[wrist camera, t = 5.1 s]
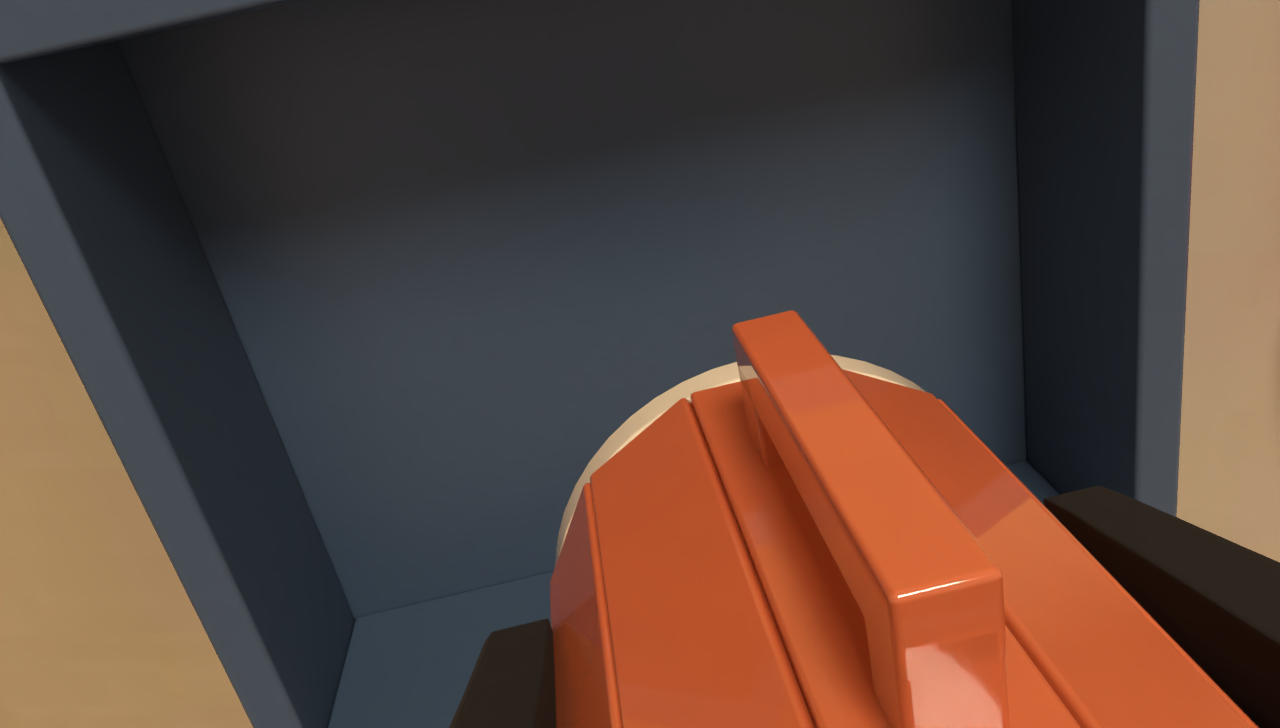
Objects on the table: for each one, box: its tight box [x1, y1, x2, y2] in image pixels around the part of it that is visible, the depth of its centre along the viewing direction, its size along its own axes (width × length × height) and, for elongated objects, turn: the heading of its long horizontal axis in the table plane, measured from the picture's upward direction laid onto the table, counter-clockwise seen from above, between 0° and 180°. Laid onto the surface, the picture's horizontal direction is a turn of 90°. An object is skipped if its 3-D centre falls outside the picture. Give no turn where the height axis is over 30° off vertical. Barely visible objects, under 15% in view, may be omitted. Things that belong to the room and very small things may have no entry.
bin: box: [0, 0, 1199, 728], centre depth 16 cm, size 17×14×4 cm
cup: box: [550, 310, 1259, 728], centre depth 8 cm, size 5×6×6 cm
